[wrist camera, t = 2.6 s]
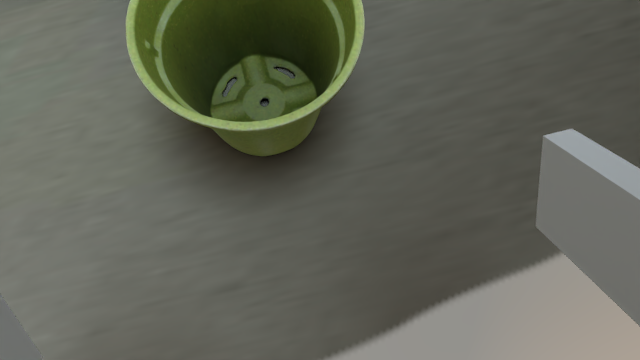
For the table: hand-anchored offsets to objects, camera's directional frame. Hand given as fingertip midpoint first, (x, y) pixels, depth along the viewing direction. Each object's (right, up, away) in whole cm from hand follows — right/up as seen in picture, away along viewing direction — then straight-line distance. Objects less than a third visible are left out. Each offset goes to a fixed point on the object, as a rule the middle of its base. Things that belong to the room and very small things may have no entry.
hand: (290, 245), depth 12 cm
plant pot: (-2, +6, +16) cm, 17 cm away
